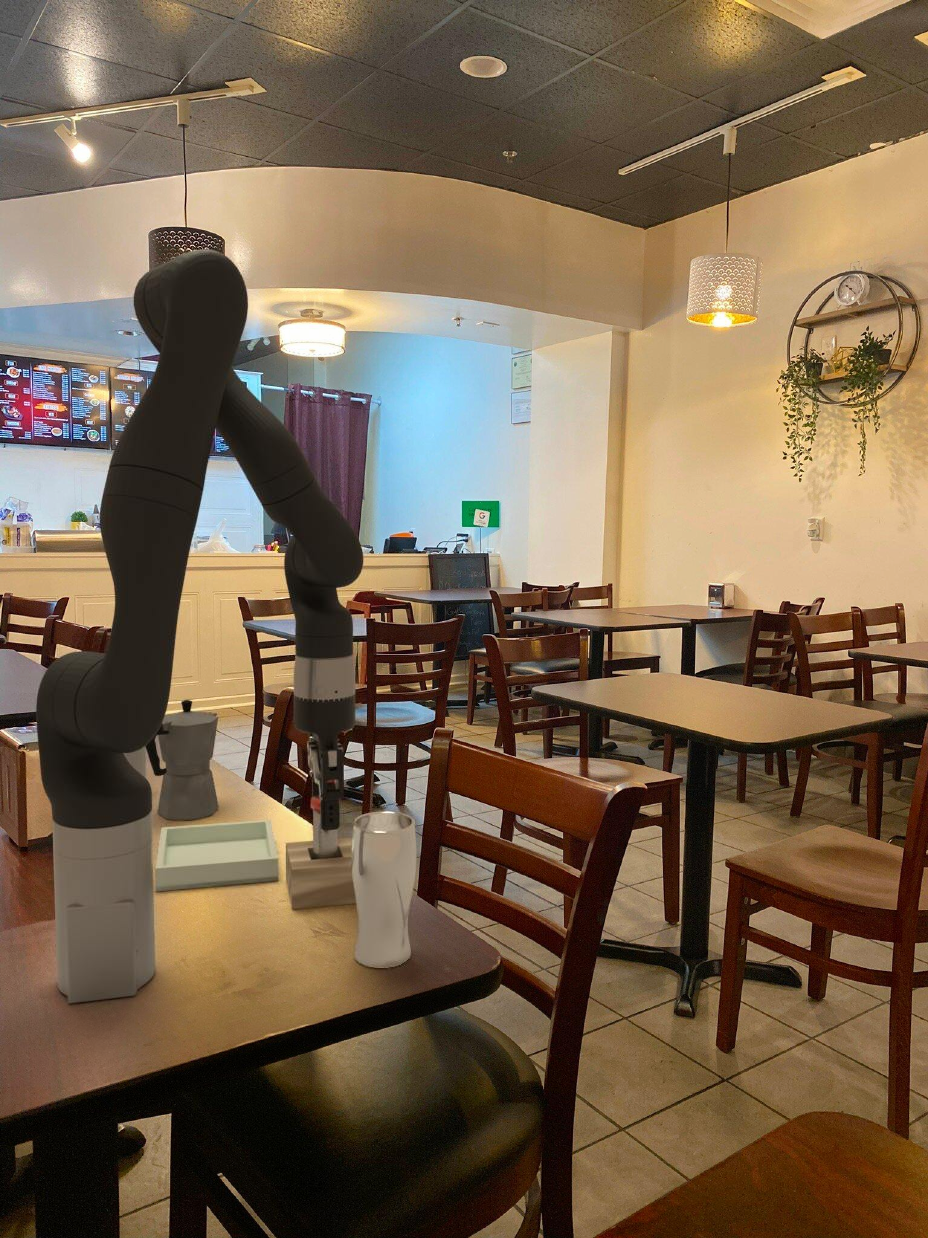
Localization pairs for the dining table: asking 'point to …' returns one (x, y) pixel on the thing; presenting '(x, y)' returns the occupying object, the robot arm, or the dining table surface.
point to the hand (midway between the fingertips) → (325, 817)
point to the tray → (216, 855)
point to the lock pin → (322, 835)
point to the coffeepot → (185, 764)
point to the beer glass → (383, 886)
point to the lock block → (319, 876)
